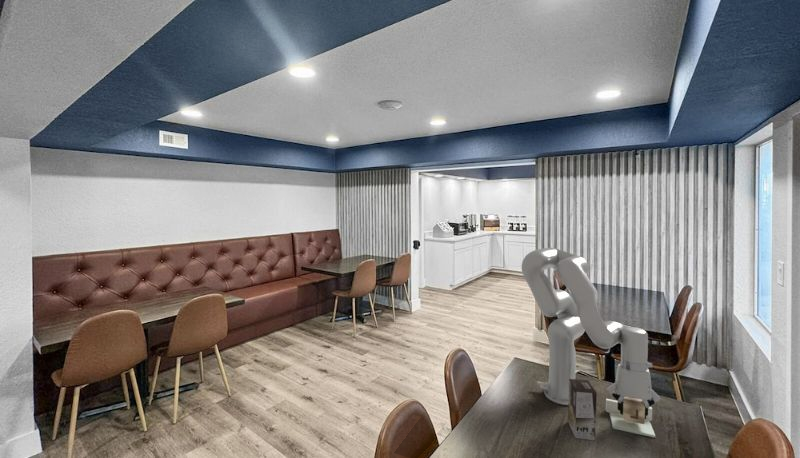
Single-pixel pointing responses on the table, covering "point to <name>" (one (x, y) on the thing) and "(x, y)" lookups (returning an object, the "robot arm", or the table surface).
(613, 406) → the cream screen
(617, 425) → the sage pad
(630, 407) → the maple cube
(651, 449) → the table surface
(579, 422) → the coffee box
